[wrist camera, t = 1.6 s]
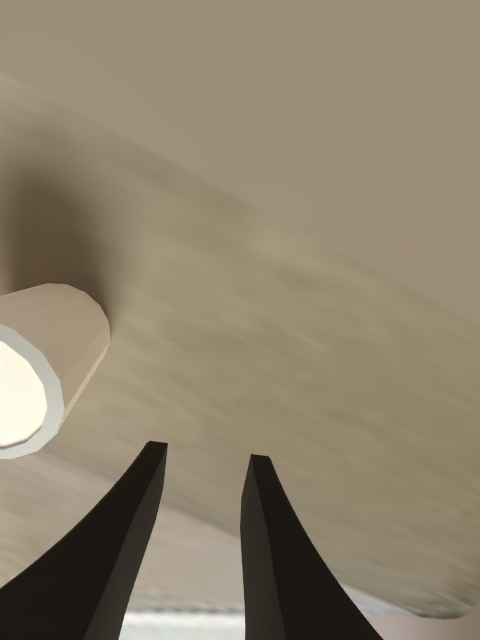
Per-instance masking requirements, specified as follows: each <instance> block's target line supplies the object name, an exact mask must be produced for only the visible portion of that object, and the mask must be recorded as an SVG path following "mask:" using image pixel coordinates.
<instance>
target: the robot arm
mask: <svg viewBox="0 0 480 640" xmlns="http://www.w3.org/2000/svg"><path fill="white" fill-rule="evenodd" d="M167 447H168V443H162V442H154V441H149V442H148V443H146V445H145V446H144V448H143V449H142V451H141V452H140V454H139V455H138V456H137V458H136V459H135V461H134V462H133V463H132V464H131V466H130V467H129V468H128V469H127V471H126V472H125V473H124V474H123V476H122V477H121V478H120V479H119V480H118V481H117V483H116V484H115V485H114V486H113V487H112V488H111V490H110V491H109V492H108V493H107V494H106V495H105V496H104V497H103V498H102V499H101V500H100V501H99V502H98V504H97V505H96V506H95V507H94V508H93V509H92V510H91V511H90V512H89V513H88V514H87V515H86V516H85V517H84V518H83V519H82V520H81V521H80V522H79V523H78V524H77V525H76V526H75V527H74V528H73V529H72V530H70V531H69V532H68V533H67V534H66V535H65V536H64V537H63V538H62V539H61V540H60V541H58V542H57V543H56V544H55V545H54V546H53V547H51V548H50V549H49V550H48V551H47V552H46V553H44V554H43V555H42V556H41V557H40V558H39V559H37V560H36V561H35V562H34V563H33V564H31V565H30V566H29V567H28V568H26V569H25V570H24V571H23V572H21V573H20V574H19V575H17V576H16V577H15V578H13V579H12V580H11V581H10V582H8V583H7V584H6V585H4V586H3V587H2V588H0V640H118V639H119V635H120V631H121V627H122V623H123V619H124V615H125V612H126V608H127V605H128V602H129V598H130V595H131V592H132V589H133V586H134V583H135V580H136V577H137V574H138V571H139V568H140V565H141V562H142V559H143V556H144V553H145V550H146V547H147V544H148V541H149V538H150V535H151V532H152V529H153V526H154V523H155V520H156V516H157V512H158V508H159V504H160V499H161V495H162V491H163V484H164V475H165V465H166V456H167ZM240 534H241V551H242V568H243V584H244V600H245V640H383V639H382V638H381V636H380V635H379V634H378V633H377V632H376V630H375V629H374V628H373V627H372V626H371V624H370V623H369V622H368V621H367V619H366V618H365V617H364V615H363V614H362V613H361V612H360V610H359V609H358V608H357V607H356V605H355V604H354V603H353V601H352V600H351V599H350V598H349V596H348V595H347V594H346V593H345V591H344V590H343V588H342V587H341V586H340V584H339V583H338V581H337V580H336V579H335V577H334V576H333V574H332V573H331V572H330V570H329V569H328V567H327V566H326V564H325V563H324V561H323V560H322V558H321V556H320V555H319V553H318V552H317V550H316V549H315V547H314V545H313V544H312V542H311V540H310V539H309V537H308V535H307V533H306V532H305V530H304V528H303V527H302V525H301V523H300V521H299V519H298V517H297V516H296V514H295V512H294V510H293V508H292V506H291V504H290V502H289V500H288V498H287V496H286V494H285V492H284V490H283V487H282V485H281V483H280V481H279V479H278V476H277V474H276V472H275V469H274V467H273V464H272V461H271V459H270V458H269V456H262V455H254V454H251V457H250V461H249V466H248V471H247V475H246V480H245V484H244V489H243V493H242V498H241V523H240Z"/></svg>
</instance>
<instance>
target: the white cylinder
mask: <svg viewBox="0 0 480 640" xmlns="http://www.w3.org/2000/svg"><path fill="white" fill-rule="evenodd" d="M110 340H111V337H110V326H109V321H108V319H107V317H106V315H105V314H104V312H103V310H102V308H101V306H100V305H99V304H98V303H97V302H96V301H95V300H94V299H92V298H91V297H90V296H89V295H88V294H87V293H86V292H84V291H82V290H79V289H77V288H74V287H72V286H70V285H67V284H53V283H46V284H42V285H39V286H35V287H31V288H28V289H24V290H20V291H17V292H13V293H9V294H5V295H2V296H0V459H13V458H16V457H19V456H22V455H25V454H29V453H32V452H35V451H38V450H39V449H40V448H41V447H42V446H43V445H45V444H46V443H47V442H48V441H49V440H50V439H51V438H52V437H53V436H55V435H56V434H57V432H58V430H59V429H60V427H61V426H62V424H63V422H64V421H65V419H66V417H67V416H68V414H69V413H70V411H71V409H72V408H73V406H74V404H75V403H76V401H77V399H78V398H79V396H80V395H81V393H82V391H83V390H84V388H85V386H86V385H87V383H88V381H89V380H90V378H91V377H92V375H93V373H94V372H95V370H96V368H97V367H98V365H99V364H100V362H101V360H102V359H103V357H104V355H105V354H106V351H107V348H108V345H109V343H110Z"/></svg>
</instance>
